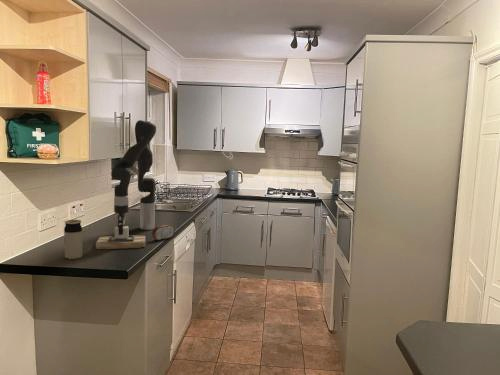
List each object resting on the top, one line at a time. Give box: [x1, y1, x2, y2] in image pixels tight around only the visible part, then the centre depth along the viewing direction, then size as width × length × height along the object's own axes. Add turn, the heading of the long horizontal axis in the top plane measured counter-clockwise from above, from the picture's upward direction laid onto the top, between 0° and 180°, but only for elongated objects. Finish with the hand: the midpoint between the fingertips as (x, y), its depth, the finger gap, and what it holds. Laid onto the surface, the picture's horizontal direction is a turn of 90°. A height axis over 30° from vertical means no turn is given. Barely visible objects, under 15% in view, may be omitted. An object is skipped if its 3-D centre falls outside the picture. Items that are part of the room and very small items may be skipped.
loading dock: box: [95, 234, 146, 250], centre depth 217 cm, size 15×25×4 cm, turn 103°
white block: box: [114, 225, 130, 240], centre depth 217 cm, size 5×7×7 cm
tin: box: [151, 223, 175, 241], centre depth 232 cm, size 15×3×8 cm, turn 141°
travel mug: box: [63, 219, 84, 260], centre depth 192 cm, size 8×8×18 cm
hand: (121, 232), depth 217 cm, fingers open, 8 cm apart
